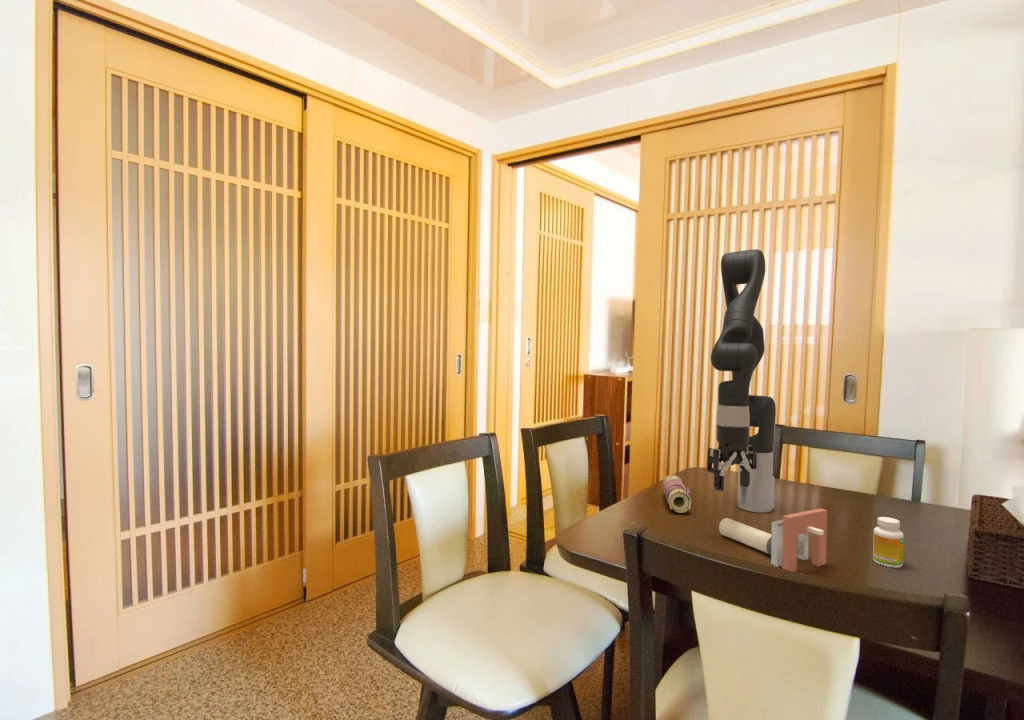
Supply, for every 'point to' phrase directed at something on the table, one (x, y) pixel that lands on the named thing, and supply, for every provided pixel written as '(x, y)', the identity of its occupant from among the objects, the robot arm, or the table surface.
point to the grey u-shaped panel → (777, 544)
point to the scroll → (677, 494)
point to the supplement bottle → (888, 543)
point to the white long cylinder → (746, 535)
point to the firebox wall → (800, 525)
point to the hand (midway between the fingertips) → (731, 488)
